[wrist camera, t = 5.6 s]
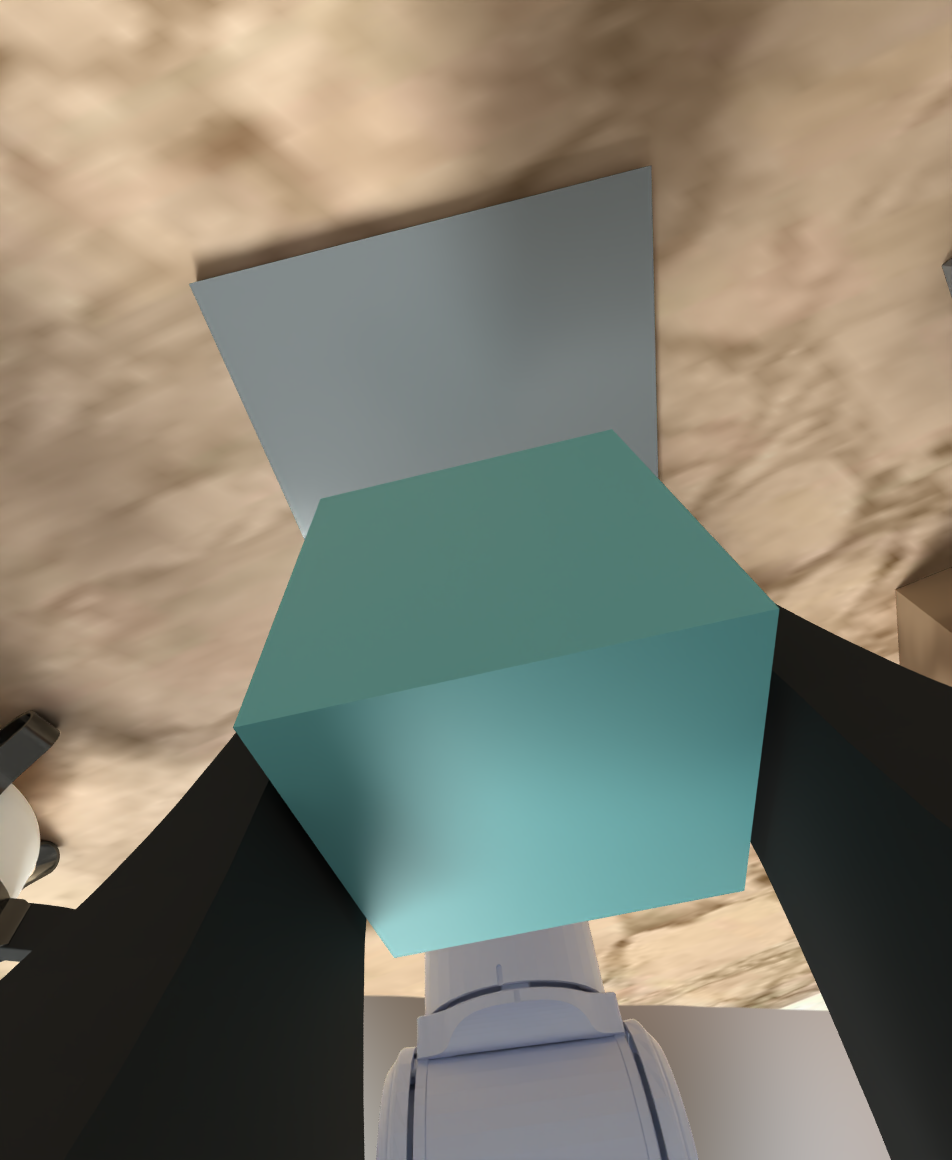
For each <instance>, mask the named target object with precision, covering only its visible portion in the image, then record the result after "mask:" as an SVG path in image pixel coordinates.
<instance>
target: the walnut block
mask: <svg viewBox="0 0 952 1160" xmlns="http://www.w3.org/2000/svg"><path fill="white" fill-rule="evenodd" d="M895 591H896V608H897V626H898V643H899V661H900V665H901V666H903V667H905V668H907V669H910V670H912V671H914V672H917V673H919V674H921V675H924V676H926V677H928V678H931V679H933V680H936V681H938V682H941V683H943V684H946V685H948V686H951V687H952V567H951V568H948V569H946V570H943V571H941V572H938V573H936V574H933V575H931V576H928V577H926V578H923V579H921V580H918V581H916V582H913V583H911V584H908V585H906V586H903V587H901V588H898V589H896V590H895Z"/></svg>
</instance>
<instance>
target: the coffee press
mask: <svg viewBox="0 0 952 1160" xmlns="http://www.w3.org/2000/svg"><path fill="white" fill-rule="evenodd" d="M59 735H60V731H59V730H58V729H57V728H55V727H54V726H53V725H51V724H50V723H49V722H47V721H46V720H45V719H43V718H42V717H41V716H39V715H38V714H37V713H35V712H34V711H28V712H25V713H23V714H21V715H20V716H18V717H17V718H15V719H14V720H13V721H11V722H10V723H8V724H7V725H6V726H5V727H3V728H2V729H1V730H0V962H2V961H4V960H8V961H18V962H21V961H22V960H23V959H24V958H25V957H26V956H27V955H28V954H29V953H30V952H31V951H32V950H33V949H34V948H35V947H37V946H38V945H39V944H40V943H41V942H42V941H43V940H44V939H45V938H46V937H47V936H48V935H49V934H50V933H51V932H52V931H53V930H54V929H56V928H57V927H58V926H59V925H60V924H61V923H62V922H63V921H64V920H65V919H66V918H67V917H68V916H69V915H70V914H71V913H72V912H73V911H75V910H76V909H70V908H65V907H59V906H52V905H44V904H34V903H28V902H27V901H26V900H24V899H17V897H18V895H19V893H20V892H21V890H22V889H23V888H25V887H27V886H28V885H30V884H31V883H33V882H35V881H37V880H39V879H41V878H43V877H44V876H46V875H48V874H50V873H51V872H52V871H53V870H54V869H55V868H56V867H57V865H58V862H59V858H60V853H59V849H58V848H57V846H56V845H55V844H54V843H52V842H49V841H44V842H40V831H39V826H38V822H37V819H36V816H35V814H34V811H33V809H32V808H31V806H30V804H29V803H28V801H27V800H26V798H25V797H24V796H23V795H22V793H21V792H20V791H19V790H18V789H17V788H16V787H15V786H14V785H13V784H12V782H13V781H14V780H15V779H16V778H17V777H18V776H19V775H21V774H22V773H23V772H24V771H25V770H26V769H27V768H28V767H29V766H30V765H32V764H33V763H34V762H35V761H36V760H37V759H38V758H39V757H40V756H42V755H43V754H44V753H45V752H46V751H47V750H48V749H49V748H50V747H51V746H52V745H53V744H54V743H55V742H56V740H57V739H58V737H59ZM35 864H36V868H35V871H34V872H33V874H32V875H31V876H30V874H31V872H32V870H33V868H34V866H35ZM29 876H30V877H29Z"/></svg>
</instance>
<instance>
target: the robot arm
mask: <svg viewBox="0 0 952 1160" xmlns="http://www.w3.org/2000/svg"><path fill="white" fill-rule="evenodd" d="M776 605H777V604H776ZM777 606H778V608H779V616H778V624H777V632H776V640H775V648H774V656H773V664H772V672H771V680H770V688H769V696H768V704H767V712H766V720H765V728H764V736H763V744H762V752H761V760H760V768H759V776H758V784H757V792H756V800H755V808H754V816H753V824H752V832H751V840H750V842H751V844H752V846H753V848H754V850H755V851H756V853H757V855H758V857H759V859H760V861H761V863H762V865H763V867H764V869H765V871H766V873H767V875H768V877H769V880H770V882H771V884H772V886H773V888H774V890H775V893H776V895H777V897H778V899H779V901H780V903H781V905H782V908H783V910H784V912H785V914H786V916H787V918H788V921H789V923H790V925H791V927H792V929H793V931H794V934H795V936H796V938H797V940H798V942H799V945H800V947H801V949H802V952H803V954H804V956H805V958H806V961H807V963H808V965H809V967H810V970H811V972H812V974H813V976H814V979H815V981H816V983H817V985H818V988H819V990H820V992H821V994H822V997H823V999H824V1001H825V1003H826V1006H827V1008H828V1010H829V1012H830V1015H831V1017H832V1019H833V1022H834V1024H835V1026H836V1029H837V1031H838V1033H839V1036H840V1038H841V1040H842V1043H843V1045H844V1048H845V1050H846V1052H847V1055H848V1057H849V1059H850V1062H851V1064H852V1066H853V1069H854V1071H855V1073H856V1076H857V1078H858V1081H859V1083H860V1085H861V1088H862V1090H863V1092H864V1095H865V1097H866V1099H867V1102H868V1104H869V1107H870V1109H871V1111H872V1113H873V1116H874V1118H875V1121H876V1123H877V1126H878V1128H879V1131H880V1133H881V1135H882V1138H883V1141H884V1143H885V1145H886V1148H887V1151H888V1153H889V1156H890V1158H891V1160H952V687H951V686H948V685H946V684H943V683H941V682H938V681H936V680H933V679H931V678H928V677H926V676H924V675H921V674H919V673H917V672H914V671H912V670H910V669H907V668H905V667H903V666H901V665H898V664H896V663H894V662H892V661H889V660H887V659H885V658H883V657H881V656H879V655H877V654H875V653H872V652H870V651H868V650H866V649H864V648H862V647H860V646H858V645H855V644H853V643H851V642H849V641H847V640H845V639H843V638H841V637H839V636H837V635H835V634H833V633H831V632H829V631H827V630H825V629H823V628H821V627H819V626H817V625H815V624H813V623H811V622H809V621H807V620H805V619H803V618H801V617H799V616H797V615H795V614H794V613H792V612H790V611H788V610H786V609H784V608H782V607H781V606H779V605H777ZM365 931H366V917H365V915H364V914H363V913H362V911H361V910H360V908H359V907H358V905H357V904H356V903H355V901H354V900H353V898H352V897H351V895H350V894H349V893H348V891H347V890H346V888H345V887H344V885H343V884H342V883H341V881H340V880H339V878H338V877H337V875H336V874H335V873H334V871H333V870H332V868H331V867H330V865H329V864H328V863H327V861H326V860H325V858H324V857H323V855H322V854H321V853H320V851H319V850H318V848H317V847H316V845H315V844H314V843H313V841H312V840H311V838H310V837H309V835H308V834H307V833H306V831H305V830H304V828H303V827H302V825H301V824H300V823H299V821H298V820H297V818H296V817H295V815H294V814H293V813H292V811H291V810H290V808H289V807H288V805H287V804H286V803H285V801H284V800H283V798H282V797H281V795H280V794H279V793H278V791H277V790H276V788H275V787H274V785H273V784H272V783H271V781H270V780H269V778H268V777H267V775H266V774H265V773H264V771H263V770H262V768H261V767H260V765H259V764H258V763H257V761H256V760H255V758H254V757H253V755H252V754H251V753H250V751H249V750H248V748H247V747H246V745H245V744H244V743H243V741H242V740H241V738H240V737H239V735H238V734H237V733H235V734H234V736H233V737H232V738H231V740H230V741H229V742H228V743H227V745H226V746H225V747H224V748H223V749H222V751H221V752H220V753H219V754H218V755H217V757H216V758H215V759H214V760H213V761H212V763H211V764H210V765H209V766H208V767H207V769H206V770H205V771H204V772H203V773H202V775H201V776H200V777H199V778H198V779H197V781H196V782H195V783H194V784H193V785H192V787H191V788H190V789H189V790H188V791H187V793H186V794H185V795H184V796H183V797H182V799H181V800H180V801H179V802H178V803H177V805H176V806H175V807H174V808H173V809H172V810H171V811H170V812H169V814H168V815H167V816H166V817H165V818H164V819H163V820H162V821H161V822H160V824H159V825H158V826H157V827H156V828H155V829H154V830H153V831H152V832H151V833H150V835H149V836H148V837H147V838H146V839H145V840H144V841H143V842H142V843H141V844H140V845H139V846H138V847H137V848H136V849H135V850H134V851H133V852H132V853H131V855H130V856H129V857H128V858H127V859H126V860H125V861H124V862H123V863H122V864H121V865H120V866H119V867H118V868H117V869H116V870H115V871H114V872H113V873H112V874H111V875H110V876H109V877H108V878H107V879H106V880H105V881H104V882H103V883H102V884H101V885H100V886H99V887H98V888H97V889H96V890H95V891H94V892H93V893H92V894H91V895H90V896H89V897H88V898H87V899H86V900H85V901H84V902H83V903H82V904H81V905H80V906H79V907H78V908H77V909H76V910H75V911H73V912H72V913H71V914H70V915H69V916H68V917H67V918H66V919H65V920H64V921H63V922H62V923H61V924H60V925H59V926H58V927H57V928H56V929H54V930H53V931H52V932H51V933H50V934H49V935H48V936H47V937H46V938H45V939H44V940H43V941H42V942H41V943H40V944H39V945H38V946H37V947H35V948H34V949H33V950H32V951H31V952H30V953H29V954H28V955H27V956H26V957H25V958H24V959H23V960H22V961H21V962H20V963H19V964H18V965H16V966H15V967H14V968H13V969H12V970H11V971H10V972H9V973H8V974H7V975H6V976H5V977H3V978H2V979H1V980H0V1160H364V1113H363V1112H364V1108H363V1009H364V1005H363V1004H364V952H365ZM376 1160H699V1159H698V1155H697V1151H696V1147H695V1143H694V1139H693V1136H692V1132H691V1128H690V1125H689V1122H688V1118H687V1115H686V1111H685V1108H684V1104H683V1101H682V1098H681V1095H680V1092H679V1089H678V1086H677V1083H676V1081H675V1079H674V1076H673V1073H672V1070H671V1068H670V1065H669V1063H668V1061H667V1058H666V1056H665V1054H664V1052H663V1050H662V1048H661V1047H660V1045H659V1044H658V1042H657V1041H656V1040H655V1039H654V1038H653V1037H652V1036H651V1035H650V1034H649V1033H648V1032H647V1031H646V1030H645V1029H644V1027H643V1026H642V1025H641V1024H640V1023H639V1022H638V1021H637V1020H635V1019H628V1020H622V1018H621V1014H620V1010H619V1006H618V1002H617V998H616V994H615V993H614V992H606V993H605V991H604V986H603V982H602V978H601V974H600V970H599V965H598V961H597V957H596V953H595V949H594V944H593V940H592V936H591V932H590V928H589V923H588V921H584V922H579V923H573V924H568V925H563V926H558V927H553V928H547V929H542V930H537V931H532V932H527V933H521V934H516V935H511V936H506V937H501V938H495V939H490V940H485V941H480V942H475V943H469V944H464V945H459V946H454V947H449V948H443V949H438V950H433V951H428V952H425V1015H424V1016H419V1017H418V1019H417V1047H405V1048H404V1049H402V1050H401V1051H400V1053H399V1054H398V1057H397V1060H396V1061H395V1063H394V1064H393V1066H392V1067H391V1069H390V1070H389V1072H388V1073H387V1076H386V1079H385V1082H384V1087H383V1093H382V1099H381V1106H380V1115H379V1125H378V1139H377V1155H376Z"/></svg>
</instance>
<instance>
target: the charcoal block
mask: <svg viewBox="0 0 952 1160" xmlns="http://www.w3.org/2000/svg"><path fill="white" fill-rule="evenodd" d="M942 268H943V271H944V275H945V278H946V281H947V284H948V287H949V290H950V293H951V297H952V258H951V259H950V260H949V261H947V262H946V263H945V264H943V265H942Z"/></svg>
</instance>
